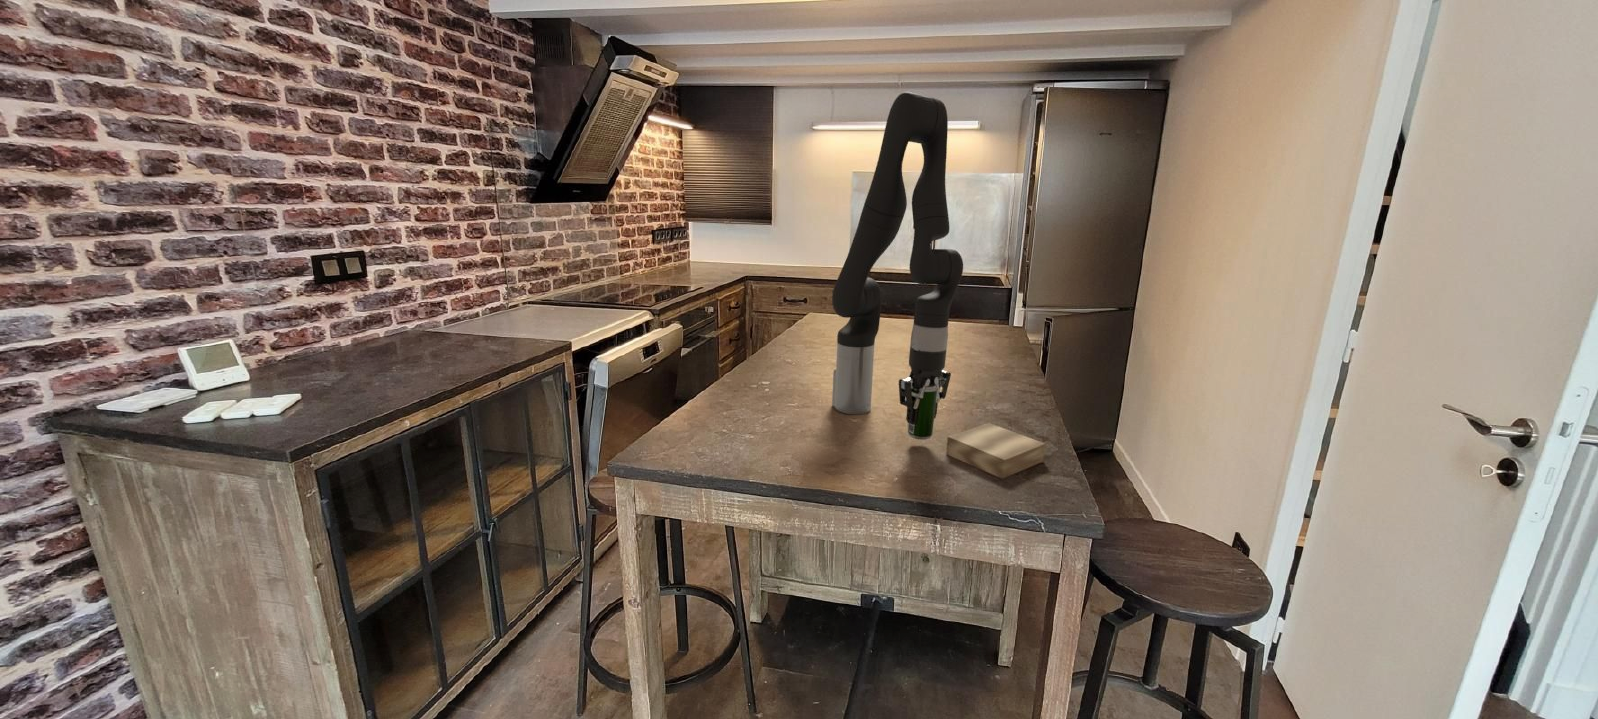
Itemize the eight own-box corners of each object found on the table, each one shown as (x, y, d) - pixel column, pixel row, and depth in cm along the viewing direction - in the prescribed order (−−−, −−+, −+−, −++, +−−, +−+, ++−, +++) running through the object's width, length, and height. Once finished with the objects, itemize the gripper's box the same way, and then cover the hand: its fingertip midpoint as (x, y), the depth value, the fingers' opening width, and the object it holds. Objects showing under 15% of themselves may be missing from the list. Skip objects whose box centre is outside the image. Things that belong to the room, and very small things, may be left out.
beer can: (919, 442, 131) (924, 388, 127) (902, 433, 135) (906, 381, 131) (937, 437, 133) (943, 385, 130) (920, 428, 138) (925, 377, 134)
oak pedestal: (946, 453, 131) (947, 436, 129) (986, 439, 139) (988, 422, 138) (1002, 478, 120) (1004, 459, 119) (1042, 461, 128) (1045, 443, 127)
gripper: (938, 337, 135) (930, 409, 140) (891, 345, 127) (885, 421, 132) (965, 345, 130) (956, 419, 134) (918, 354, 121) (910, 433, 126)
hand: (921, 420), depth 133 cm, fingers closed on beer can, 5 cm apart
